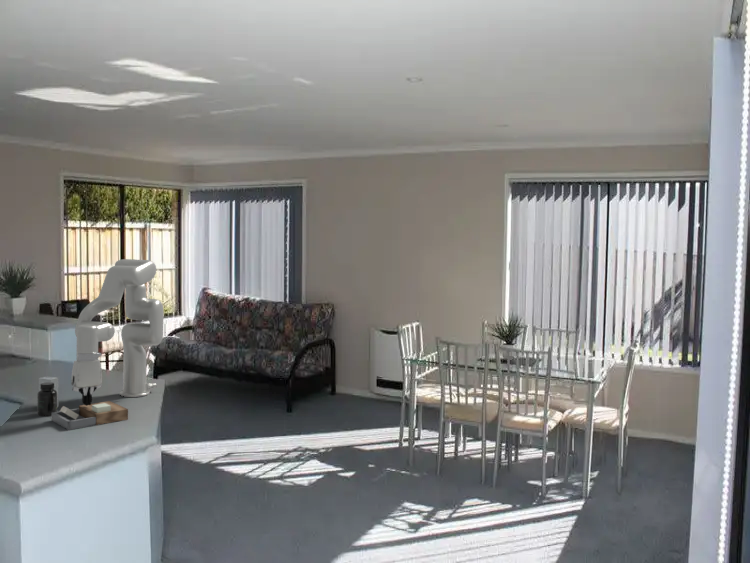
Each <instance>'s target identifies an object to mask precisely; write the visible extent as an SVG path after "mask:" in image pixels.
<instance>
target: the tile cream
mask: <svg viewBox="0 0 750 563" xmlns="http://www.w3.org/2000/svg"><path fill="white" fill-rule="evenodd" d="M59 411H61V412H63V413H65V414H67V415H68V416H70V417H72V418H73V419H75V420H76V418H77V417H78V416H79V415H78V414H76V413H75V412H73V411H71V409H69V407H66V406H64V405H63V406H62V407H61V408H60V410H59Z"/></svg>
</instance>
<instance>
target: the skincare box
mask: <svg viewBox="0 0 750 563" xmlns="http://www.w3.org/2000/svg"><path fill="white" fill-rule="evenodd" d="M46 382H53V383H54V386H55V388H54V389H55V390H56V391H57V408H58V407H59V377H58V376H57V377H55V376H54V377H53V376H42V377H39V378H38V392H39V391H40V390H41V389H40V384H41V383H46Z"/></svg>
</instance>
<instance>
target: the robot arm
mask: <svg viewBox="0 0 750 563" xmlns="http://www.w3.org/2000/svg"><path fill="white" fill-rule="evenodd" d="M156 274H157V265H156V263H155V262H154V261H152V260H149V259H131V258H130V259H129V258H123V259H119V260H117V261H116V262H115V263H114V266H113V265H112V266H110V267H109V268H108V269H107V272H106V274H105V278H104V280H103V284H102V285H101V289H100V291H99V295H97V297H96V298H94V299H92V301H90V302H89V303H88V304H87V305H86V306H85V307H84V308H83V309H82V310H81V312H80V314H79V315H78V317H77V318H78V319H77V321H76V325H75V329H74V334H75V336H76V360H74V361H73V364H72V369H71V377H70V378H71V380H70V384H71V386H72V389H71V390H72V391H73V392H78V393H80V394H81V397H82V398H81V399H82V400H81V401H82V405H86V406H87V405H91V404H92V401H93V395H94V392H95V391H96V390H97V389H101V388H102V383H103V382H102V381H103V374H102V373H103V372H102V366H101V360H100V357H102V352H100V351H99V343H100V342H107V341H110V340H111V339H113V337H114V336H115V330H116V329H115V326H114V325H113V324H112V323H110V322H105V321H93V319H94V318H95V317H96V316H97V315H99V314H100V313H102V312H105V311H107V310H110V309H113V308H115V307H117V306H119V305H120V304H121V301H122V298H123V295H124V291H125V309H124V310H125V316H126V318H128V320H133V321H135V320H136V321H148V322H149V323H148V322H147V323H145V322H129V323H126V324H124V325H123V327H121V328H122V329H121V331H120V335H121V336H120V337H121V341H122V350H123V352H122V353H123V365H122V366H123V368H122V370H123V371H122V373H123V374H122V380H123V382H122V384H123V385H122V390H120V391H119V396H120V395H121V396H120V397H123V396H124V397H123V398H125V397H126V398H138V397H141V398H142V397H145V396H148V395H150V394H151V393H150V391H151V390H150V389H154V388H157V383H155V382H154V383H151V382H149V383H148V382H147V352H146V349H145V348H144V346H158V345H160V344H161V343H162V342H163V337H164V313H165V312H164V306H163V303H162V302H161V300H159V299H156V298H147V286H146V284H147V283H148V282H150V281H152V280H153V279H154V278H155V276H156Z"/></svg>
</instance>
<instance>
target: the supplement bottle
mask: <svg viewBox="0 0 750 563" xmlns="http://www.w3.org/2000/svg"><path fill="white" fill-rule="evenodd" d="M54 388H55V386H54V383H53V382H46V383H41V384H40V389H41V390H40V391H39V390H38V392H37V400H36V402H37V403H36V404H37V407H36V408H37V409H36V410H37V411H36V412H37V416H39V417H52V412H58V407H57V391H56V390H55V389H54Z"/></svg>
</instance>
